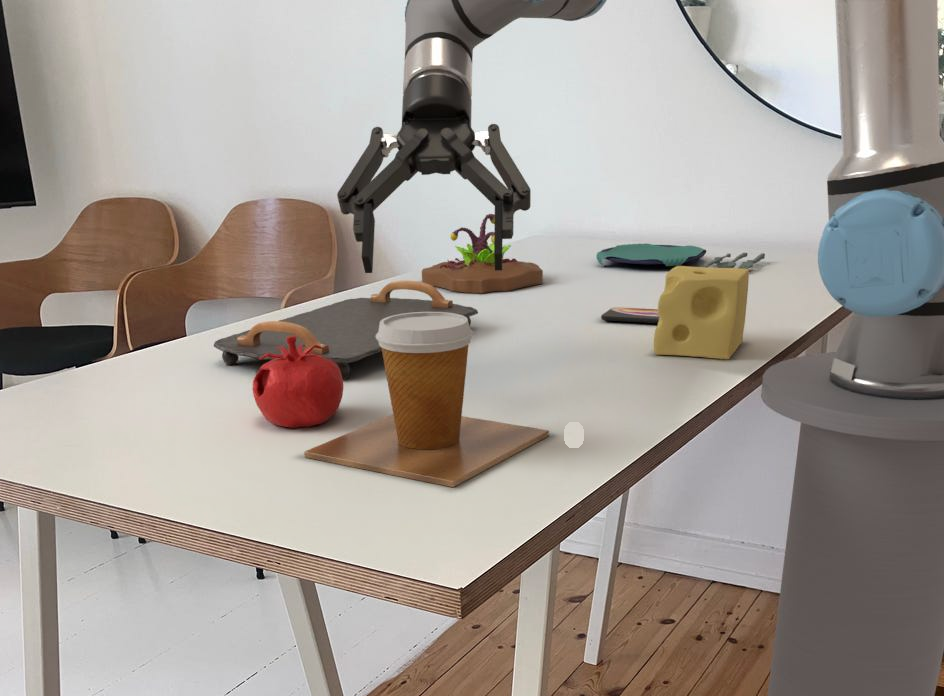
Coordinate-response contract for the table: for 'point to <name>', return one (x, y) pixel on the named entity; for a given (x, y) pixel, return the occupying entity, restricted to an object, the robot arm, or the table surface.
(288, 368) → the pomegranate
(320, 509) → the table surface
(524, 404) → the table surface
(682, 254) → the cutlery set
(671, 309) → the cheese
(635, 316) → the smartphone
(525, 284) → the plant
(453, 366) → the disposable coffee cup
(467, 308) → the serving tray
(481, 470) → the wooden board
